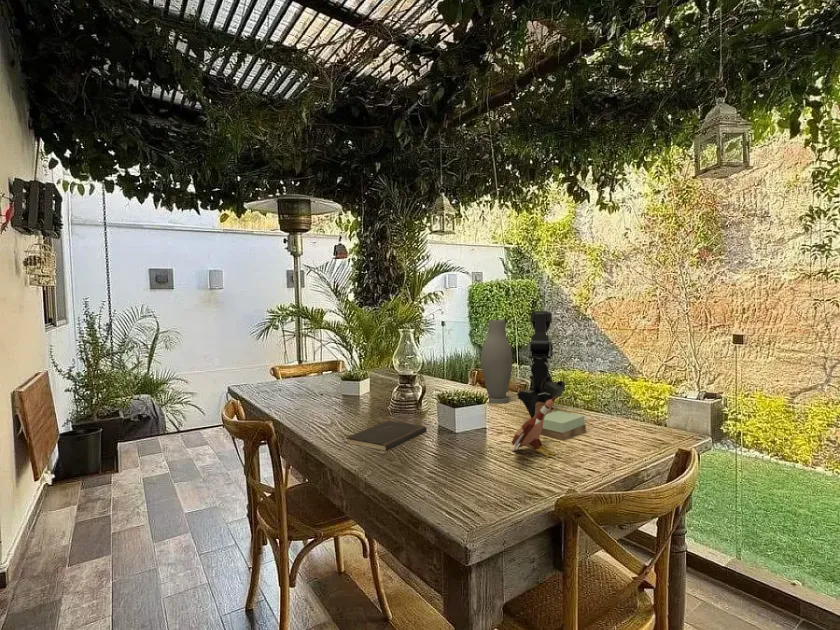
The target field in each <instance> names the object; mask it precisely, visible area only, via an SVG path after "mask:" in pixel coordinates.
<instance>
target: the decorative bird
mask: <svg viewBox="0 0 840 630" xmlns="http://www.w3.org/2000/svg"><path fill="white" fill-rule="evenodd" d="M555 397H556V396H554V397H553V398H552V399H549V400H548V401H547V402H546V403H545V405H544V406H543V407H542V409H541V410H540V411H539V413H538V414H536V415H535V416H534V417H533V418H531V417H530V419H528V420H526V422H524V423H523V424H522V425H521V426H520V428H519V429H518V430H517V432H516V433H514V436H513V438H512V441H511V444H512V446H514V447H513V448H512V449H511V452H516V451H518V450H519V449H520V448H523V447H526V446H531V447H532V448H533V449H534V450H535V451H537V452H540V453H541V454H544V455H546V456H545V458H548V457H549V458H550V457H553V456H554V454H556V451H550V449H548V448H547V447H545V446H544V445H543V444H542V442H541V440H540V436H541V435H540V434H541V431H542V428H543V421H544V418H545V415H546V414H547V412H548V410H549V409H550V408H551V407H553V406H554V405H555V401H556V399H557V398H558V397H556V398H555ZM554 398H555V399H554Z"/></svg>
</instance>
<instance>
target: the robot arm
mask: <svg viewBox="0 0 840 630" xmlns="http://www.w3.org/2000/svg"><path fill="white" fill-rule="evenodd" d="M552 314H553V313H551V312H549V311H547V310H546V311H545V310H536V311H534V312H532V313H530V324H532V329H533V331H534V334H532V335H531V337H530V338H531V340H530V341H528V359H531V366H530V373H531V375H529V379H530V387H529V389H524V390H519V391H518V392H517V399H518V400H520V402H521V401H522V403H523V405H524V406H525V408H526V410H527V413H528V415H529V416H530V419H531V418H533V417H534V416H535V405H536V403H537V402H543V403H546V402H547V401H548V400H549V399H552V398H553V397H554V396H556V397H557V398H559V397H562V395H563V392H565V391H566V385H565V381H563V380H559V381H554V380H553V378H552V376H551V373H550V372H549V360H551V359H552V357H554V356H553V355H554V353H553V352H554V351H553V350H554V349H553V348H554V346H553V344H552V342H551V341H550V336H549V335H548V332H549V330H551V324H553V317H552V316H553V315H552ZM556 397H555V398H556ZM555 398H554V399H555ZM557 398H556V399H557ZM556 399H555V400H556ZM553 409H554V407H553V406H552V407H551V410H553Z"/></svg>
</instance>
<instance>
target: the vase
mask: <svg viewBox="0 0 840 630" xmlns="http://www.w3.org/2000/svg"><path fill="white" fill-rule="evenodd" d="M487 329H488V331H487V337H486V339H485V341H484V343H483V345H482V348H481V353H480V365H481V369H482V370H481V371H482V375H483V381H484V384H485V389H486V392H487V396H488V397H489V402H490V403H489V404H505V403H509V402H510V397H509V396H507V393H508V390H509V385H510V381H511V379H512V370H513V353H512V348H511V345H510V344H511V343H509V340H508V337H507V333H506V320H505V319H492V320H491V319H489V320H488V328H487Z"/></svg>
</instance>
